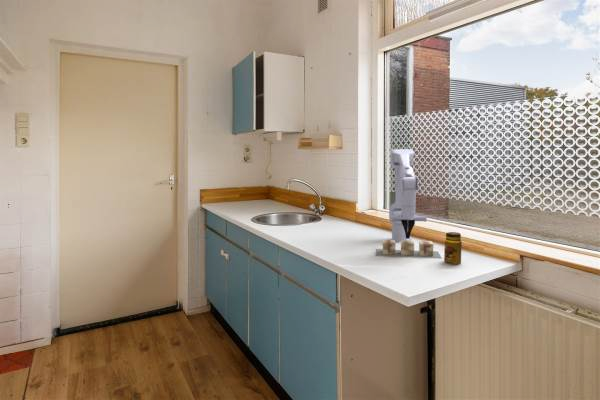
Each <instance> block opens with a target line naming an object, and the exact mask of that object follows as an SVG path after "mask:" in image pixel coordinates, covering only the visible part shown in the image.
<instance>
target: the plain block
mask: <svg viewBox="0 0 600 400" xmlns="http://www.w3.org/2000/svg"><path fill="white" fill-rule="evenodd" d="M400 250H401V255H414V251H415V241H414V240H410V241H405V240H401V242H400Z"/></svg>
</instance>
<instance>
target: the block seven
mask: <svg viewBox="0 0 600 400" xmlns="http://www.w3.org/2000/svg"><path fill="white" fill-rule="evenodd" d="M418 244H419V245H418V251H419V254H420V256H433V251H434V243H433V241H432V240H419V242H418Z"/></svg>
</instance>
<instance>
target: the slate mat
mask: <svg viewBox="0 0 600 400" xmlns="http://www.w3.org/2000/svg"><path fill="white" fill-rule="evenodd" d="M440 254H441V253H439V251H434V250H433V256H420V254H419V250H414V255H401V249H395V255H390V254H383V248H382V249H380V248H379V249H377V248H376V249H375V257H392V258H393V257H395V258H415V259H416V258H418V259H443V258H442V256H441V255H440Z"/></svg>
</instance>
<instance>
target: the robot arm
mask: <svg viewBox="0 0 600 400" xmlns="http://www.w3.org/2000/svg"><path fill="white" fill-rule="evenodd" d="M413 161H414V149H412V148H408V149H407V148H405V149H397V148H396V149H395V148H392V149H391V150H390V167H391V168H393V169H394V172H395V199H394V200H395V202H394V203H392V204H391V205H390V206H389V211H388V221H389V222H390V223H391V239H389V240H395V243H401V240H405V241H413V240H412V238H411V233H412V231H413V228H414V227H415V224H416V222H423V223H424V222H425V223H427V220H428V219H427V218H428V217H427V216H426V215H425V216H424V215H416V206H417V205H416V203H417V202H416V201H417V199H416V197H417V190H418V187H419V186H418V185H419V184H418V183H419V180H418V176H416V175H415V174H414V172H415V171H414V168H413V167H412V163H413Z"/></svg>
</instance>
